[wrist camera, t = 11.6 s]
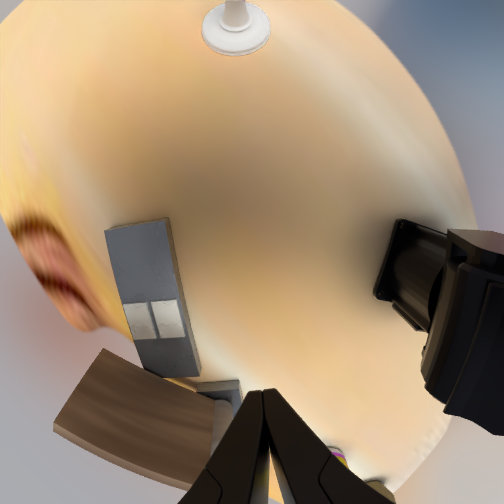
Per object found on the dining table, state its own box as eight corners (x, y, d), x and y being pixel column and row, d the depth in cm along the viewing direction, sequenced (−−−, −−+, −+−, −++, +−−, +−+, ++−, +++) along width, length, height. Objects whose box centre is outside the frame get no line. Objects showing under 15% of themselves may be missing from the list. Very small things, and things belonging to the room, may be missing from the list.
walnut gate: (104, 344, 20) (52, 421, 12) (236, 404, 22) (236, 495, 13) (99, 360, 21) (52, 435, 12) (226, 417, 23) (223, 504, 14)
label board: (209, 211, 20) (207, 214, 18) (244, 407, 24) (244, 418, 23) (110, 227, 20) (102, 231, 18) (167, 411, 24) (164, 421, 23)
